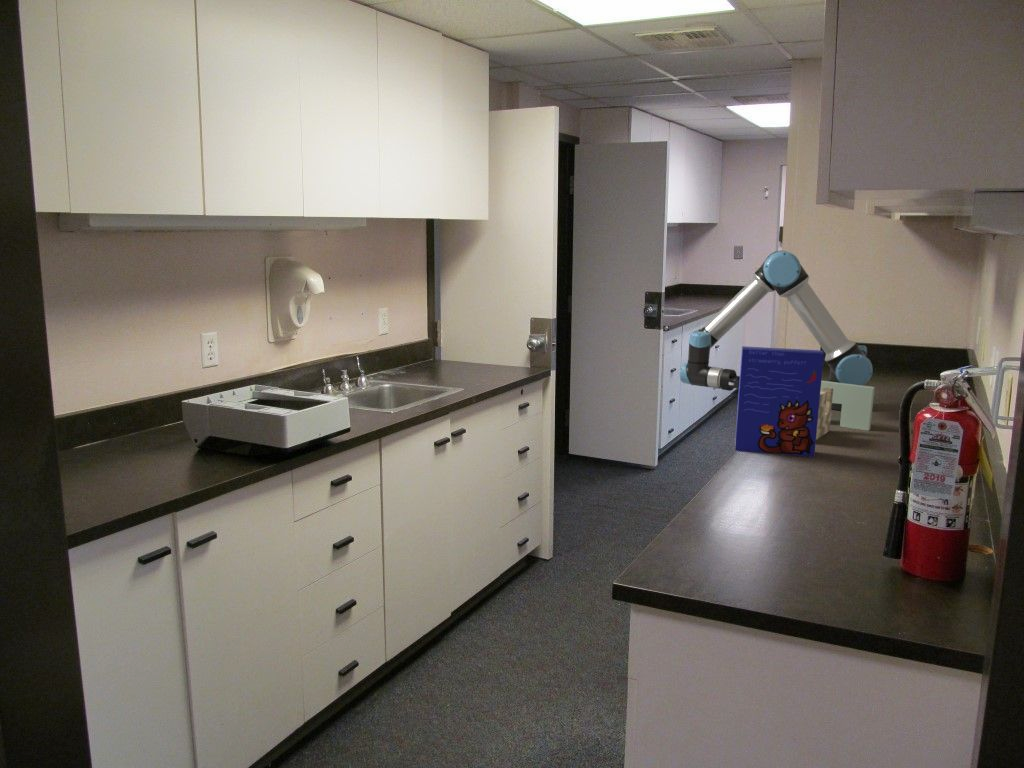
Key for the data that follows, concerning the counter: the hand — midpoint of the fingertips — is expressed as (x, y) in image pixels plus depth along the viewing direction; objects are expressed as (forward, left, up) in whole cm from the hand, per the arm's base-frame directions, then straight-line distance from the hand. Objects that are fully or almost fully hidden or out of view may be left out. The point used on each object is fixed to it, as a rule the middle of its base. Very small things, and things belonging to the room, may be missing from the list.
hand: (782, 387), depth 280 cm
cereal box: (+11, +46, -10) cm, 48 cm away
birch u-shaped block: (-6, +26, -10) cm, 29 cm away
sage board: (-16, +9, -10) cm, 21 cm away
